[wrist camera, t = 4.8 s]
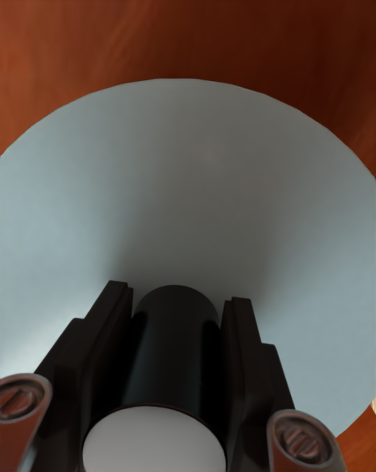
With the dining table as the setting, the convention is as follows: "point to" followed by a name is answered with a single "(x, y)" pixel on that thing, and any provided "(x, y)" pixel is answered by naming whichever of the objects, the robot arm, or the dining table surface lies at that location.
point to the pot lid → (189, 258)
